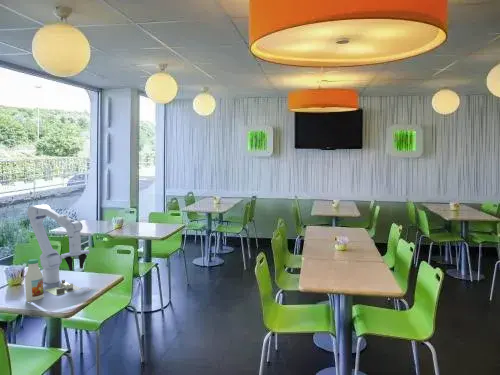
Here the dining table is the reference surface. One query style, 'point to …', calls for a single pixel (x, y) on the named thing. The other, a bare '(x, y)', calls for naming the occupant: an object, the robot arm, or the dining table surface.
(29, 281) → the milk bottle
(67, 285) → the swing bar
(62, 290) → the latch board
